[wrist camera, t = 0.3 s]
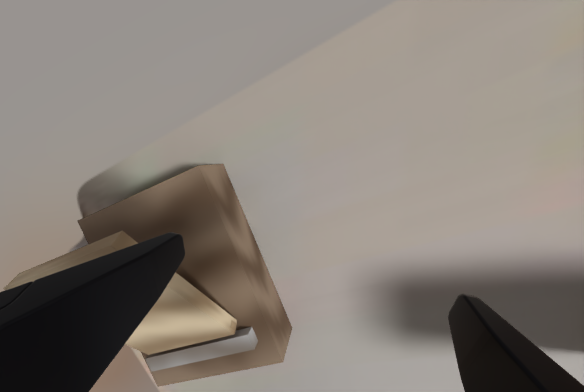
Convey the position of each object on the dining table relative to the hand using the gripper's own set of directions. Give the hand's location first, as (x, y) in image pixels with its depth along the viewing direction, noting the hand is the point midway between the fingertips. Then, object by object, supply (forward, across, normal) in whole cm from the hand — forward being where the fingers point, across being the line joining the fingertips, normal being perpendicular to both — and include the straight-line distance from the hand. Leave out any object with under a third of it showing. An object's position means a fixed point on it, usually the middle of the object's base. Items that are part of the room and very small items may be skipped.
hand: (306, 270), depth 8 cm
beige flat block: (+12, +13, +15) cm, 23 cm away
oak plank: (+5, +13, +12) cm, 18 cm away
